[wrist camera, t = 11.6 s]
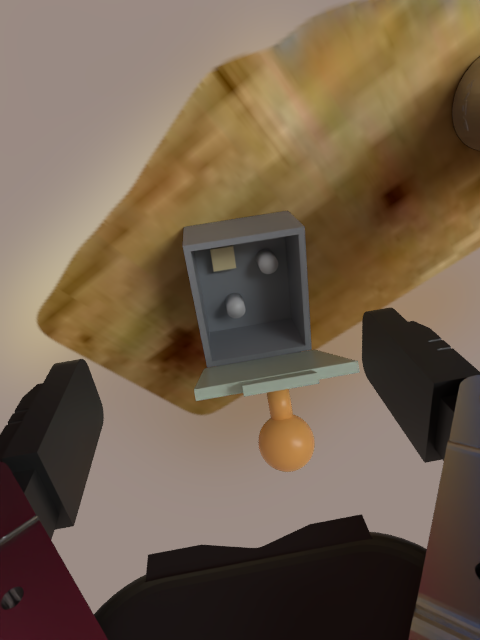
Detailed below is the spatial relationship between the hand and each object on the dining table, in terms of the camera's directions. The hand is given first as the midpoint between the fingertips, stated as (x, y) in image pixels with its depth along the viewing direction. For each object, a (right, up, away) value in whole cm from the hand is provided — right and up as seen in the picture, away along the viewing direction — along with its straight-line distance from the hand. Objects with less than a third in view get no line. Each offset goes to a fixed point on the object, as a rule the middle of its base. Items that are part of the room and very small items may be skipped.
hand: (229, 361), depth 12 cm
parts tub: (+1, +6, +33) cm, 34 cm away
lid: (+3, -3, +22) cm, 22 cm away
